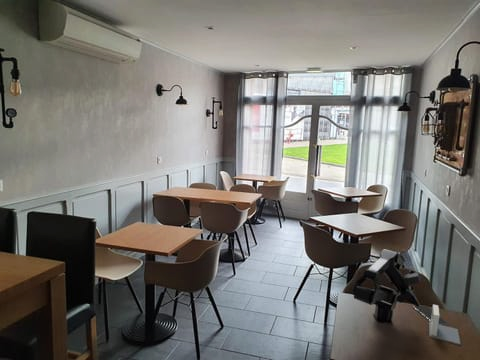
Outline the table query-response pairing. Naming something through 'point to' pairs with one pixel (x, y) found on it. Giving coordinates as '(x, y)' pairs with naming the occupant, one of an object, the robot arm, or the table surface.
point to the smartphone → (428, 313)
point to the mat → (446, 334)
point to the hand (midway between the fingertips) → (418, 305)
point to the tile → (434, 320)
